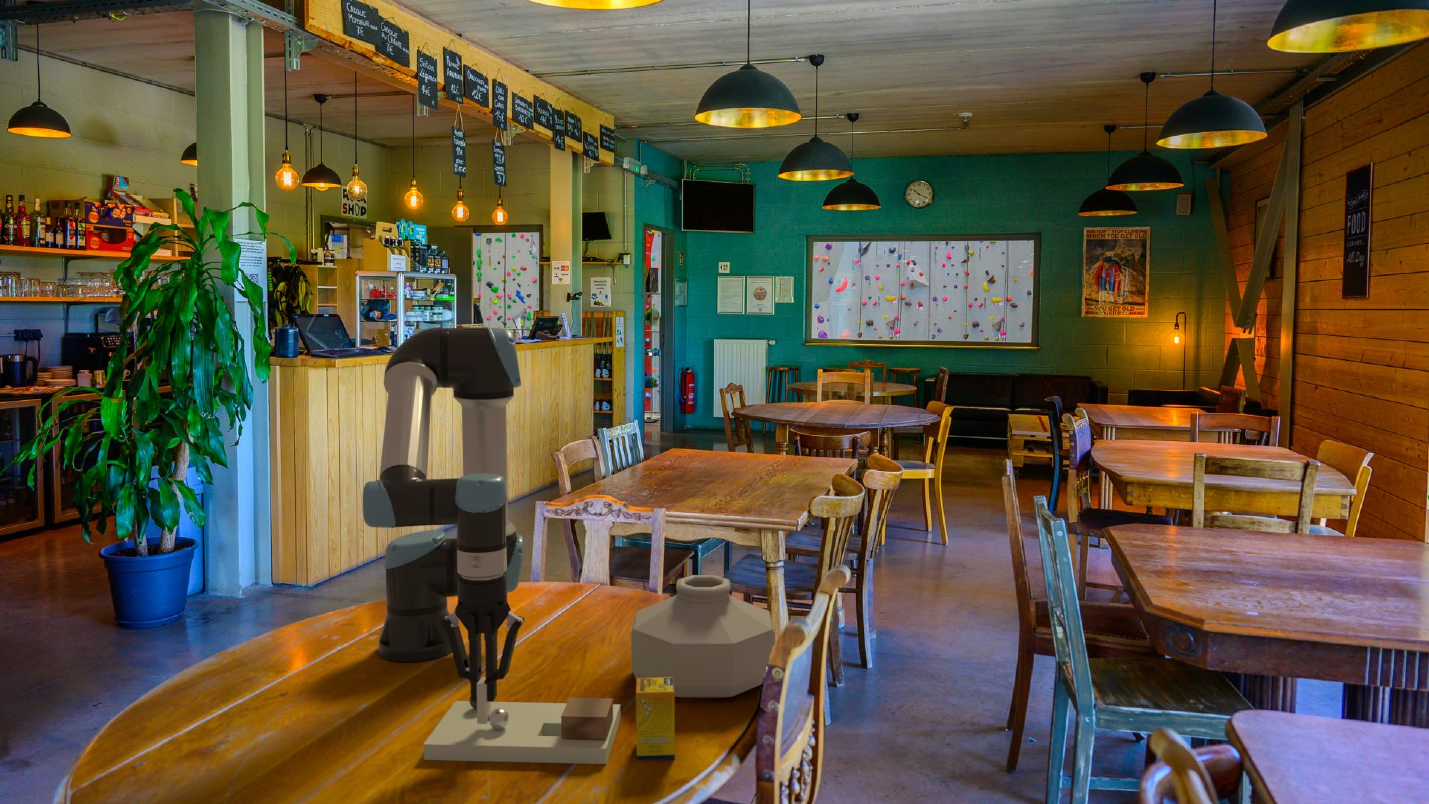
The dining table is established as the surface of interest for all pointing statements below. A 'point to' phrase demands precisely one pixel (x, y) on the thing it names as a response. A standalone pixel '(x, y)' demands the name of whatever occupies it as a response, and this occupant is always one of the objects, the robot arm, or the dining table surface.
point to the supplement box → (655, 718)
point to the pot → (703, 640)
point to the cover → (587, 718)
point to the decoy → (473, 703)
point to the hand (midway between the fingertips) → (484, 720)
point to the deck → (515, 736)
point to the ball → (499, 719)
